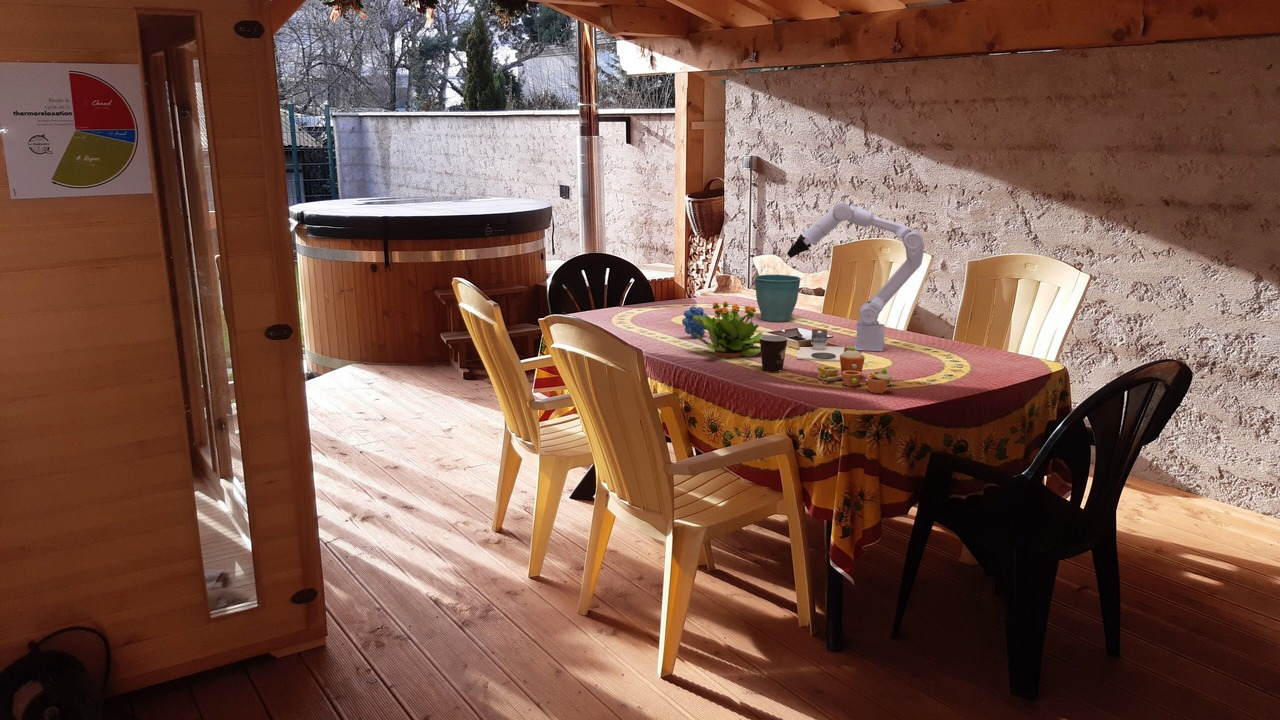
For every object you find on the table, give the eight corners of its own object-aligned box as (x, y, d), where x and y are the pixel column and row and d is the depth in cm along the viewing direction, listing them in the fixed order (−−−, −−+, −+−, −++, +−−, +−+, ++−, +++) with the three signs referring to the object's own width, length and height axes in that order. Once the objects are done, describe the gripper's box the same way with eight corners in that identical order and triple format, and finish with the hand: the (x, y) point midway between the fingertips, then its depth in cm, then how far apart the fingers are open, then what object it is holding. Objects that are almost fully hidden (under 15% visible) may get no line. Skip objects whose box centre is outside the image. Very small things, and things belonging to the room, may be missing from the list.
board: (844, 348, 328) (844, 338, 327) (843, 361, 309) (843, 351, 308) (800, 346, 331) (800, 336, 330) (796, 359, 312) (797, 348, 311)
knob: (827, 339, 326) (827, 328, 325) (826, 342, 321) (827, 331, 320) (811, 338, 327) (812, 327, 326) (811, 341, 322) (811, 330, 321)
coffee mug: (769, 373, 294) (770, 342, 291) (753, 367, 301) (754, 336, 299) (799, 369, 299) (800, 338, 296) (783, 363, 306) (784, 333, 304)
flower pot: (767, 313, 391) (768, 272, 387) (806, 318, 381) (808, 276, 377) (745, 320, 377) (746, 278, 373) (785, 325, 367) (787, 282, 363)
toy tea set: (810, 378, 289) (811, 347, 287) (844, 371, 298) (846, 341, 295) (877, 397, 268) (879, 364, 266) (912, 389, 277) (914, 357, 275)
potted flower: (732, 366, 302) (733, 312, 298) (675, 355, 318) (676, 303, 314) (777, 353, 320) (779, 302, 316) (721, 343, 336) (722, 294, 332)
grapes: (689, 342, 338) (689, 308, 335) (678, 338, 343) (678, 305, 341) (715, 338, 344) (715, 305, 341) (704, 335, 350) (704, 302, 347)
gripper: (814, 218, 329) (783, 243, 333) (812, 221, 315) (780, 247, 319) (827, 233, 329) (796, 258, 333) (825, 237, 315) (793, 263, 320)
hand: (789, 254), depth 326 cm, fingers open, 7 cm apart
